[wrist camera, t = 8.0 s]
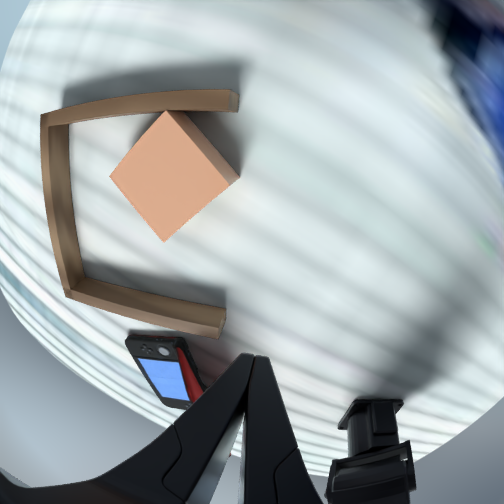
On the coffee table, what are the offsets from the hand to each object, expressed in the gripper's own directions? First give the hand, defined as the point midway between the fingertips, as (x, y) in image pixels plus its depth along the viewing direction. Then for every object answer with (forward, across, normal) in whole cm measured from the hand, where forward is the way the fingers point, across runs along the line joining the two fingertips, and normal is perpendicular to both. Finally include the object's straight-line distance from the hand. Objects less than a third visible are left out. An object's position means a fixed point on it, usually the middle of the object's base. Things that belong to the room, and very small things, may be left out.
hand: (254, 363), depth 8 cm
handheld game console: (+12, +8, +18) cm, 24 cm away
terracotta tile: (+12, +7, -3) cm, 15 cm away
